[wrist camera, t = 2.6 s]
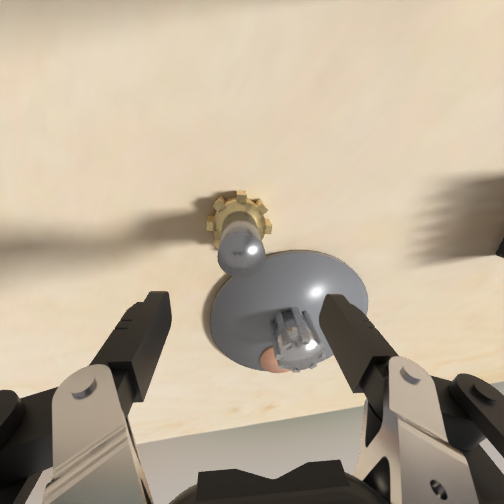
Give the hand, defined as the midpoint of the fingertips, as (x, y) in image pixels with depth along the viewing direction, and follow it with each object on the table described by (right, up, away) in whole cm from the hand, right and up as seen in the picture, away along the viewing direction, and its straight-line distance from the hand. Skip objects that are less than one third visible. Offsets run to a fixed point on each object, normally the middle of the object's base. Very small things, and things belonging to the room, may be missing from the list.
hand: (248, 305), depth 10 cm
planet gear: (-1, +6, +11) cm, 13 cm away
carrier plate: (+5, -7, +18) cm, 20 cm away
